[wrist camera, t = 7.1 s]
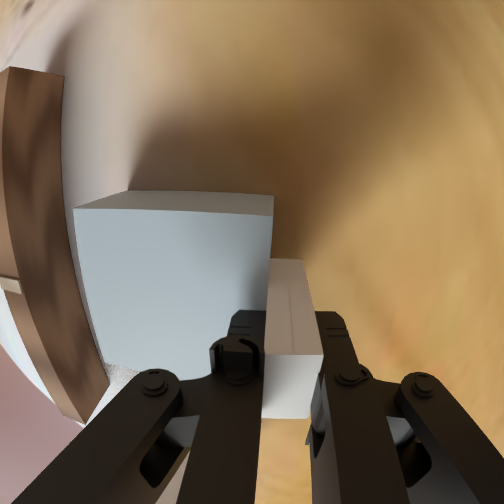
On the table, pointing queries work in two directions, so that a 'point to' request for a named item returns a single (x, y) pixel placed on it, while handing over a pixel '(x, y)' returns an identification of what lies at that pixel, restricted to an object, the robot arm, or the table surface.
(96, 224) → the block
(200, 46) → the table surface
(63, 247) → the board
